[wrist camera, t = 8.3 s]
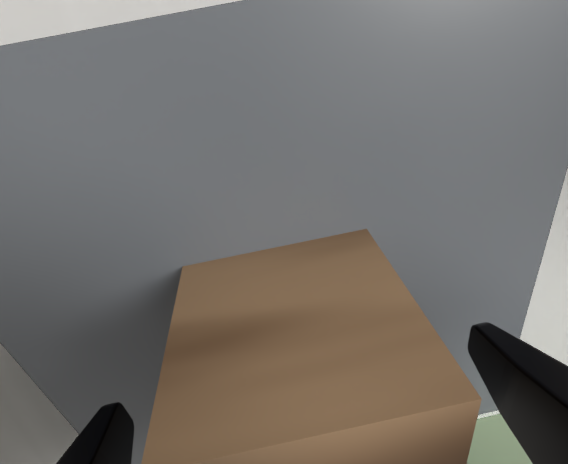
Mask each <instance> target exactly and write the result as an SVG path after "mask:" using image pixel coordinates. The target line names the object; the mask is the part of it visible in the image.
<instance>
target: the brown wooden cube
mask: <svg viewBox="0 0 568 464" xmlns="http://www.w3.org/2000/svg"><path fill="white" fill-rule="evenodd" d="M481 400H482V399H481V397H480V396H479V394H478V393H477V391H476V390H475V388H474V387H473V385H472V384H471V382H470V381H469V379H468V378H467V376H466V375H465V373H464V372H463V371H462V369H461V368H460V366H459V365H458V363H457V362H456V360H455V359H454V357H453V356H452V354H451V353H450V351H449V350H448V348H447V347H446V345H445V344H444V342H443V341H442V339H441V338H440V336H439V335H438V334H437V332H436V331H435V329H434V328H433V326H432V325H431V323H430V322H429V320H428V319H427V317H426V316H425V314H424V313H423V311H422V310H421V308H420V307H419V305H418V304H417V302H416V301H415V299H414V298H413V297H412V295H411V294H410V292H409V291H408V289H407V288H406V286H405V285H404V283H403V282H402V280H401V279H400V277H399V276H398V274H397V273H396V271H395V270H394V268H393V267H392V265H391V264H390V262H389V261H388V259H387V258H386V257H385V255H384V254H383V252H382V251H381V249H380V248H379V246H378V245H377V243H376V242H375V240H374V239H373V237H372V236H371V234H370V233H369V231H368V230H367V229H363V230H358V231H353V232H348V233H343V234H338V235H334V236H329V237H324V238H319V239H314V240H309V241H304V242H299V243H294V244H290V245H285V246H280V247H275V248H270V249H265V250H260V251H255V252H251V253H246V254H241V255H236V256H231V257H226V258H221V259H216V260H212V261H207V262H202V263H197V264H192V265H187V266H183V267H182V272H181V276H180V281H179V286H178V291H177V295H176V300H175V305H174V310H173V315H172V319H171V324H170V329H169V334H168V338H167V343H166V348H165V353H164V358H163V362H162V367H161V372H160V377H159V381H158V386H157V391H156V396H155V401H154V405H153V410H152V415H151V420H150V425H149V429H148V434H147V439H146V444H145V448H144V453H143V458H142V463H141V464H467V460H468V455H469V451H470V447H471V443H472V438H473V434H474V430H475V425H476V421H477V417H478V413H479V408H480V404H481Z"/></svg>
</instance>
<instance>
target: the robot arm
mask: <svg viewBox="0 0 568 464" xmlns="http://www.w3.org/2000/svg"><path fill="white" fill-rule="evenodd" d="M468 352H469V355H470V357H471V359H472V361H473V363H474V365H475V367H476V369H477V370H478V372H479V374H480V376H481V378H482V380H483V382H484V384H485V386H486V388H487V390H488V392H489V393H490V395H491V397H492V399H493V401H494V403H495V405H496V407H497V409H498V410H499V412H500V414H501V416H502V417H503V419H504V420H505V422H506V424H507V425H508V427H509V428H510V430H511V431H512V433H513V434H514V436H515V437H516V439H517V440H518V442H519V444H520V445H521V447H522V448H523V450H524V451H525V453H526V454H527V456H528V457H529V459H530V460H531V462H532V463H533V464H568V366H567V365H565V364H563V363H561V362H560V361H558V360H556V359H554V358H552V357H551V356H549V355H547V354H545V353H543V352H542V351H540V350H538V349H536V348H535V347H533V346H531V345H529V344H527V343H526V342H524V341H522V340H520V339H518V338H517V337H515V336H513V335H511V334H509V333H508V332H506V331H504V330H502V329H501V328H499V327H497V326H495V325H493V324H491V323H489V322H484V323H479V324H474V325H472V327H471V329H470V334H469V340H468ZM133 438H134V422H133V419H132V418H131V416H130V415H129V413H128V412H127V410H126V409H125V407H124V406H123V405H122V403H120V402H115V403H111V404H106V405H104V406H102V407H101V408H100V409H99V410H98V411H97V412H96V414H95V415H94V416H93V418H92V419H91V420H90V421H89V423H88V424H87V425H86V426H85V428H84V429H83V430H82V432H81V433H80V434H79V435H78V437H77V438H76V439H75V440H74V442H73V443H72V444H71V446H70V447H69V448H68V449H67V451H66V452H65V453H64V454H63V456H62V457H61V458H60V460H59V461H58V462H57V463H56V464H131V461H132V450H133Z"/></svg>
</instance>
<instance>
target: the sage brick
mask: <svg viewBox="0 0 568 464" xmlns="http://www.w3.org/2000/svg"><path fill="white" fill-rule="evenodd" d="M467 464H533V463H532V462H531V460H530V459H529V457H528V456H527V454H526V453H525V451H524V450H523V448H522V447H521V445H520V444H519V442H518V440H517V439H516V437H515V436H514V434H513V433H512V431H511V430H510V428H509V427H508V425H507V424H506V422H505V420H504V419H503V417H502V416H501V414H497V415H493V416H489V417H484V418H480V419H477V421H476V425H475V430H474V434H473V438H472V443H471V447H470V451H469V455H468V460H467Z"/></svg>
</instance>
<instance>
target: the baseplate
mask: <svg viewBox="0 0 568 464" xmlns="http://www.w3.org/2000/svg"><path fill="white" fill-rule="evenodd" d="M567 168H568V0H242V1H237V2H232V3H226V4H221V5H216V6H210V7H205V8H200V9H194V10H189V11H184V12H178V13H173V14H168V15H162V16H157V17H152V18H146V19H141V20H136V21H130V22H125V23H120V24H114V25H109V26H104V27H98V28H93V29H88V30H82V31H77V32H72V33H66V34H61V35H56V36H50V37H45V38H40V39H34V40H29V41H24V42H18V43H13V44H8V45H2V46H0V343H1V344H2V345H3V346H4V348H5V349H6V350H7V351H8V352H9V353H10V354H11V356H12V357H13V358H14V359H15V360H16V361H17V363H18V364H19V365H20V366H21V367H22V368H23V370H24V371H25V372H26V373H27V374H28V375H29V377H30V378H31V379H32V380H33V381H34V382H35V384H36V385H37V386H38V387H39V388H40V389H41V390H42V392H43V393H44V394H45V395H46V396H47V397H48V399H49V400H50V401H51V402H52V403H53V404H54V406H55V407H56V408H57V409H58V410H59V411H60V413H61V414H62V415H63V416H64V417H65V418H66V419H67V421H68V422H69V423H70V424H71V425H72V426H73V428H74V429H75V430H76V431H77V432H78V433H79V434H80V433H81V432H82V430H83V429H84V428H85V426H86V425H87V424H88V423H89V421H90V420H91V419H92V418H93V416H94V415H95V414H96V412H97V411H98V410H99V409H100V408H101V407H102V406H104V405H106V404H111V403H115V402H120V403H122V405H123V406H124V407H125V409H126V410H127V412H128V413H129V415H130V416H131V418H132V419H133V422H134V438H133V450H132V461H131V464H141V463H142V458H143V453H144V448H145V444H146V439H147V434H148V429H149V425H150V420H151V415H152V410H153V405H154V401H155V396H156V391H157V386H158V381H159V377H160V372H161V367H162V362H163V358H164V353H165V348H166V343H167V338H168V334H169V329H170V324H171V319H172V315H173V310H174V305H175V300H176V295H177V291H178V286H179V281H180V276H181V272H182V267H183V266H187V265H192V264H197V263H202V262H207V261H212V260H216V259H221V258H226V257H231V256H236V255H241V254H246V253H251V252H255V251H260V250H265V249H270V248H275V247H280V246H285V245H290V244H294V243H299V242H304V241H309V240H314V239H319V238H324V237H329V236H334V235H338V234H343V233H348V232H353V231H358V230H363V229H367V230H368V231H369V233H370V234H371V236H372V237H373V239H374V240H375V242H376V243H377V245H378V246H379V248H380V249H381V251H382V252H383V254H384V255H385V257H386V258H387V259H388V261H389V262H390V264H391V265H392V267H393V268H394V270H395V271H396V273H397V274H398V276H399V277H400V279H401V280H402V282H403V283H404V285H405V286H406V288H407V289H408V291H409V292H410V294H411V295H412V297H413V298H414V299H415V301H416V302H417V304H418V305H419V307H420V308H421V310H422V311H423V313H424V314H425V316H426V317H427V319H428V320H429V322H430V323H431V325H432V326H433V328H434V329H435V331H436V332H437V334H438V335H439V336H440V338H441V339H442V341H443V342H444V344H445V345H446V347H447V348H448V350H449V351H450V353H451V354H452V356H453V357H454V359H455V360H456V362H457V363H458V365H459V366H460V368H461V369H462V371H463V372H464V373H465V375H466V376H467V378H468V379H469V381H470V382H471V384H472V385H473V387H474V388H475V390H476V391H477V393H478V394H479V396H480V397H481V399H482V400H481V404H480V408H479V413H478V415H479V414H484V413H488V412H492V411H497V410H498V409H497V407H496V405H495V403H494V401H493V399H492V397H491V395H490V393H489V392H488V390H487V388H486V386H485V384H484V382H483V380H482V378H481V376H480V374H479V372H478V370H477V369H476V367H475V365H474V363H473V361H472V359H471V357H470V355H469V352H468V340H469V334H470V329H471V327H472V325H474V324H479V323H484V322H489V323H491V324H493V325H495V326H497V327H499V328H501V329H502V330H504V331H506V332H508V333H509V334H511V335H513V336H515V337H517V338H518V339H520V335H521V331H522V328H523V324H524V321H525V317H526V314H527V310H528V306H529V303H530V299H531V296H532V292H533V289H534V285H535V282H536V278H537V274H538V271H539V267H540V264H541V260H542V257H543V253H544V250H545V246H546V242H547V239H548V235H549V232H550V228H551V225H552V221H553V217H554V214H555V210H556V207H557V203H558V200H559V196H560V193H561V189H562V185H563V182H564V178H565V175H566V171H567Z"/></svg>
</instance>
